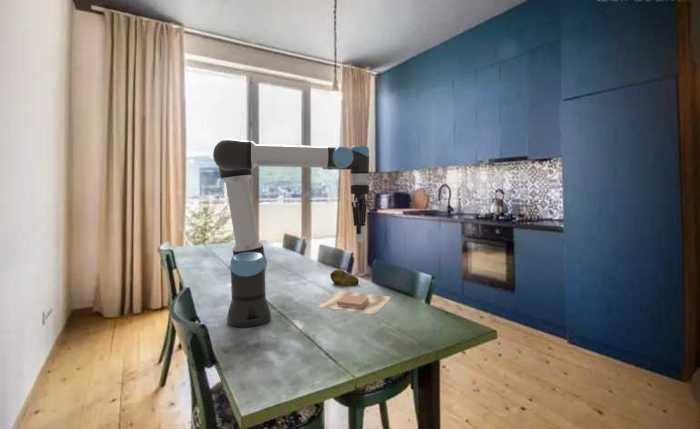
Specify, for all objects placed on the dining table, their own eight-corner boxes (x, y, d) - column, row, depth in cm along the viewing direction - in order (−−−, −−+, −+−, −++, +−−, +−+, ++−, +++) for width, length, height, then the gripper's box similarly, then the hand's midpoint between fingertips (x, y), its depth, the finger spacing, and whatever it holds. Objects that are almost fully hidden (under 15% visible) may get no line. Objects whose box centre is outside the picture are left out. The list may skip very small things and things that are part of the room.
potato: (352, 291, 162) (352, 273, 162) (328, 287, 168) (327, 270, 167) (360, 286, 170) (360, 269, 169) (336, 283, 176) (336, 267, 175)
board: (315, 310, 138) (315, 306, 137) (338, 294, 158) (338, 290, 158) (375, 318, 129) (375, 314, 129) (391, 300, 149) (391, 296, 149)
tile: (345, 298, 147) (336, 305, 139) (345, 294, 147) (336, 301, 138) (368, 301, 143) (361, 308, 135) (368, 297, 143) (361, 304, 135)
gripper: (363, 184, 139) (362, 244, 141) (373, 184, 151) (373, 239, 153) (345, 184, 141) (345, 243, 143) (356, 184, 154) (356, 238, 155)
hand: (359, 241), depth 148 cm, fingers closed
